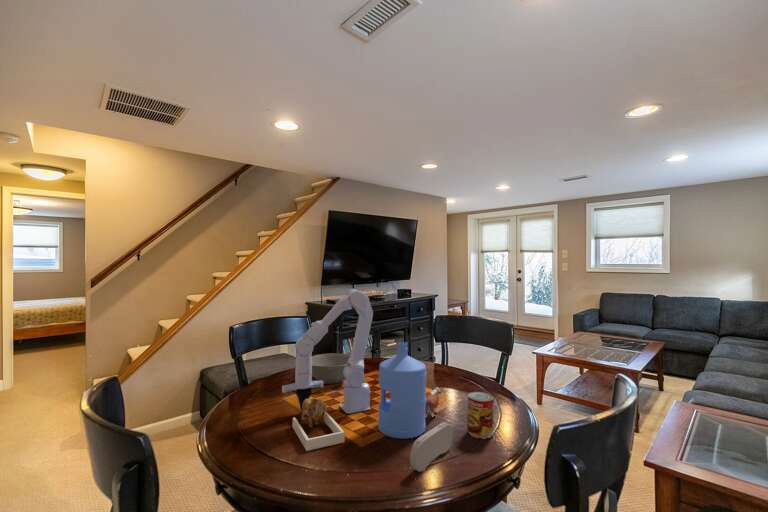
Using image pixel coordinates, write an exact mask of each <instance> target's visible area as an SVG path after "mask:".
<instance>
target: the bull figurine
mask: <svg viewBox="0 0 768 512" xmlns="http://www.w3.org/2000/svg"><path fill="white" fill-rule="evenodd" d="M442 395H443V393H442V391H441V389H440V388H439V387H435V388H434V387H432V388H431V392H430V393H429V394H428V396H426V405H425V418H427V419H428V413H430V415H431V417H432V418H433V417H434V416H435V411H437V412H438V410H437V409H438V405H439V401H440V400H439V399H440V398H439V396H442ZM435 417H436V416H435Z"/></svg>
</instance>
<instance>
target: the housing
mask: <svg viewBox="0 0 768 512" xmlns="http://www.w3.org/2000/svg"><path fill="white" fill-rule="evenodd" d="M323 414H324V415H323V421H324V422H325V424H326V425H327V426H328V428H329V429H330V430H331V431H332V433H329V434H324V435H320V436H315V437H310V438H309V437H308V435H307V434H306V432H305V431H304V429H303V427H302V426H301V424H300V423H299V421H298V419H297V418H296V417H292V429H293V430H294V432H295V434H296V435H297V437H298V440H300V443H301V444H302V446H303V448H304V449H305V451H306V452H308V451H312V450H317V449H321V448H325V447H330V446H334V445H339V444H343V443H345V439H346V438H345V433H346V432H345V431H344V430H343V429H342V428H341V426H340V425H339V424H338V423H337V421H336V420H334V418H333V417H332V416H331V415H330V413H329V412H327V411H323Z"/></svg>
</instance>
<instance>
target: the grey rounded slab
mask: <svg viewBox="0 0 768 512" xmlns="http://www.w3.org/2000/svg"><path fill="white" fill-rule="evenodd" d="M453 439H454V431H453V427H452V425H450V424H449V423H448V422H444V421H443V422H441V423H439V424H438V425H436V426H435V427H433V428H432V429H429V430H428V431H426V432H425V433H423V434H421V435H420V436H418V437H417V439H416V440H415V441H414V443H413V444H412V447H411V450H410V455H409V463H410V467H411V468H412V469H413V470H414V471H417V472H420V473H421V471H422V470H424V469H425V468H426V467H427V466H428V467H429V465H430V463H431V462H432V461H434V460H435V459H437V457H439V456H440V455H444V454H443V453H444V452H445V451H447V450H448V449H449V448H450V449H451V447H452V443H453ZM450 449H449V450H450ZM449 450H448V451H449ZM428 467H427V468H428ZM427 468H426V469H427ZM426 469H425V470H426ZM425 470H424V471H425ZM422 472H423V471H422Z"/></svg>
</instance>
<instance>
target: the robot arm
mask: <svg viewBox="0 0 768 512" xmlns="http://www.w3.org/2000/svg"><path fill="white" fill-rule="evenodd" d="M353 309H354V310H355V312H356V313H357V314H358V320H357V323H356V328H355V335H354V338H353V343H352V346H351V347H352V348H351V353H350V355H351V356H350V358H349V359H348V363H347V365H346V366H345V367H344V370H343V374H344V377H345V379H344V382H343V401H342V402H343V404H339V408H341V409H342V410H343V412H345V413H346V414H347V415H348V414H354V413H358V412H363V411H369V410H371V406H370V405H371V397H370V396H371V389H370V385H369V383H367V382H365V377H366V376H365V373H364V372H365V371H364V370H365V361H364V360H365V355H366V351H367V345H368V341H369V335H370V331H371V327H372V326H371V325H372V322H373V317H374V311H373V308H372V306H371V302H370V298H369V297H368V295H367V294H366V293H365V292H364V291H362V290H358V289H356V288H351V289H349V290H348V291H346V293H345V294H344V295H341V297H340V299H339V300H338V301H337V302H336V303H335V304H334V305H333V307H332V308H331V309H330V310H329V311H328V312H327V313H326V315H325V316H324V317H323V318H322V319H321V320H316V321H315V322H314V321H313V322H312V323H311V324H310V327H309V329H307V331H305V332H304V333H302V334H301V336H300V337H299V338H298V339H297V340H296V343H295V346H294V347H295V350H296V353H295V357H296V358H295V369H294V370H295V374H294V375H295V379H294V382H293V383H289V384H285V385H281V386H282V387H281V392H282V393H283V394H286V393H288V392H294V393H295V394H296V397H297V400H298V404H299V409H300V412H301V411H302V405H303V401H304V400H305V399H310V397H311V396H312V393H313V390H312V389H315V388H325V387H324V385H325V384H324V382H323V381H322V380H321V381H318V380H313V379H312V376H313V375H312V358H311V356H313V355H312V352H314V347H315V346H316V345H317V344H318V343H319V342H320V341H321V340H322V339H323V338H324V337H325V336H326V334H328V332H329V326H331V324H332V323H333V322H334V321H336V319H337V318H339V316H340V315H341V314H342V313H343V312H345V311H348V310H353ZM305 411H306V409H305Z"/></svg>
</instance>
